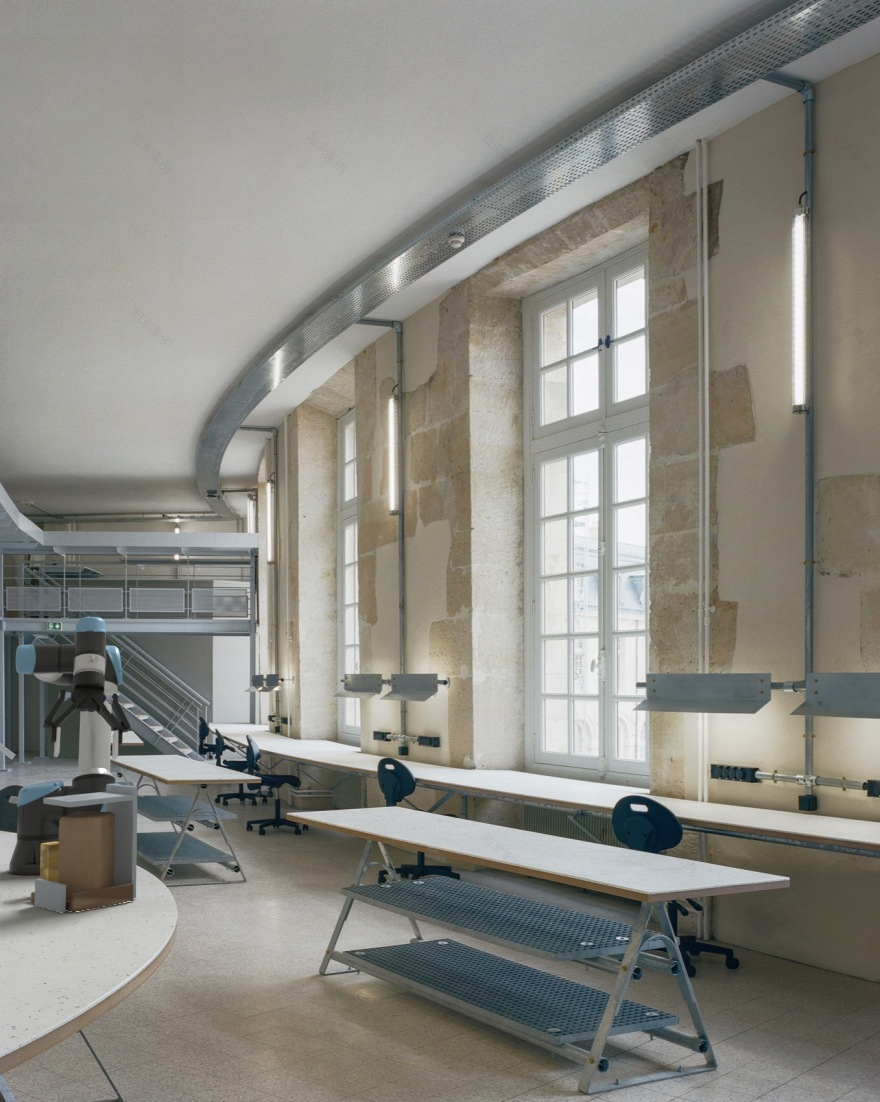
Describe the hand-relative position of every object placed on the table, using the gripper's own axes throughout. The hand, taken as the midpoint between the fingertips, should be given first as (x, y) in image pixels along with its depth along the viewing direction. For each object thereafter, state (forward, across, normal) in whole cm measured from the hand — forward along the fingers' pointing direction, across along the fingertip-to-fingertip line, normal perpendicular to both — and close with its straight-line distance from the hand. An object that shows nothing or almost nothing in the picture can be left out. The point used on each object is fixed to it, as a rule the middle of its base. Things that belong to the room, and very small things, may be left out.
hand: (86, 756), depth 265 cm
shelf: (+32, +3, +10) cm, 34 cm away
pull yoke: (+30, +1, +14) cm, 33 cm away
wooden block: (+32, +3, +10) cm, 34 cm away
